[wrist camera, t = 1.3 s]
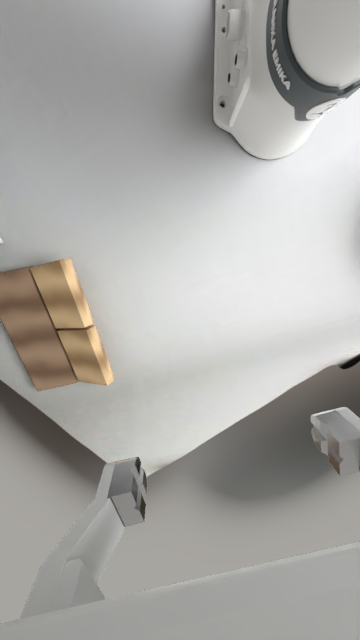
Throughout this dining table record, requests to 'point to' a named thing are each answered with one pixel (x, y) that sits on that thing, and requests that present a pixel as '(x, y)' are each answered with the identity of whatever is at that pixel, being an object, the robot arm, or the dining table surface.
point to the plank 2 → (86, 355)
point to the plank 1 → (62, 294)
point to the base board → (33, 330)
